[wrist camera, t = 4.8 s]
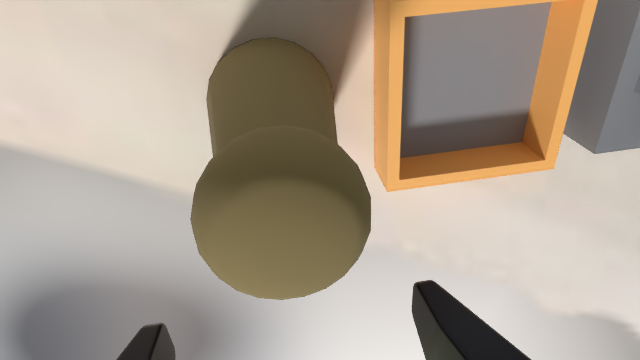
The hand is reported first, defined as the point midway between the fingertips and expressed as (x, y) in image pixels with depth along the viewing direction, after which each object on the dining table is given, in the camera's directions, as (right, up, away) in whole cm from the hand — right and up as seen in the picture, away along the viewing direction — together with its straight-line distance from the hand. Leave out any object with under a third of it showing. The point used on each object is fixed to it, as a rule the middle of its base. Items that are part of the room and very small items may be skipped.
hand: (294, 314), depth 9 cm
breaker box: (+16, +9, +13) cm, 22 cm away
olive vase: (-2, +7, +11) cm, 13 cm away
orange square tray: (+8, +8, +12) cm, 16 cm away
